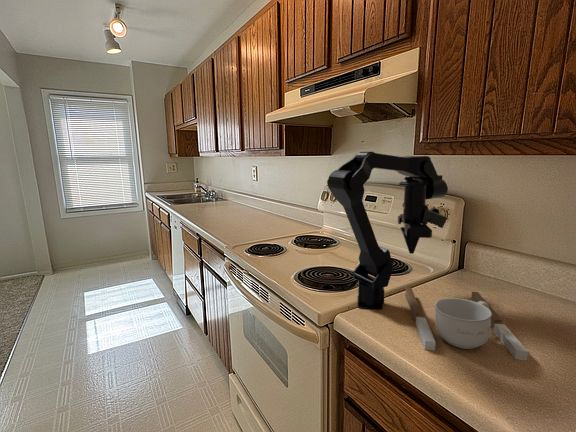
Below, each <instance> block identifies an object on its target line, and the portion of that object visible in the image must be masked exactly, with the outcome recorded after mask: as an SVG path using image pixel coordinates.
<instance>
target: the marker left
mask: <svg viewBox="0 0 576 432" xmlns="http://www.w3.org/2000/svg"><path fill="white" fill-rule="evenodd" d="M415 327H416V329H417V332H418V335H419V337H420V340H421V343H422V346H423V348H424V350H425V351H426V350H428V351H436V343H437V342H436V340H435V337H434V335H433V332H432V330H431V328H430V326H429V324H428V321H427V319H426V317H423V316H422V317H416V322H415Z"/></svg>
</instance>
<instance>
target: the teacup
mask: <svg viewBox="0 0 576 432" xmlns="http://www.w3.org/2000/svg"><path fill="white" fill-rule="evenodd" d="M486 302H487V301H486ZM486 302H484V301H479V302H474V301H471V299H465V298H457V297H447V298H441V299H438V300H437V301H436V302H435V303H434V310H435V311H434V322H435V323H434V324H435V325H434V326H435V329H436V332H437V333H438V336H440V337H441V338H442V339H443V340H444V341H445V342H446V343H448V344H449V345H451V346H453V347H456V348H459V349H464V350H470V349H471V350H472V349H477V348H478V347H481V346H483V345H485V344H486V343H487V342H488V340H489V338H490V334H491V327H492V326H491V317H492V313H491V311H490V310H489V305H490V304H489V303H488V302H487V303H488V304H489V305H488V304H487V303H486Z"/></svg>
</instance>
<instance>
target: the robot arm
mask: <svg viewBox="0 0 576 432" xmlns="http://www.w3.org/2000/svg"><path fill="white" fill-rule="evenodd" d="M374 169H378V170H386V171H393V172H394V171H395V172H397V173H398V174H399V175H402V176H405V177H404V178H403V179H402V180H401V181H400V182H399V185H398V186H404V194H403V196H404V197H403V202H402V207H403V211H402V212H403V213H401V214H399V215H398V216H397V224H398V225H402V224H403V226H401V227H400V231H401V233H402V236H403V238H404V242H405V245H406V247H407V249H408V253H409V254H410V255H411V254H412V255H413V254H415V251H416V247H417V246H418V242H419V240H420V239H423V238H427V239H431V238H432V237H433V230H432V228H431V227H429V226H428V223H429V224H432V225H435V226H437V227H438V228H441V229H443V228H444V226H445V224H446V222H447V220H448V217H447V216H446V215H444V214H441V213H440V209H438V208H436V207H431V208H430V209H429V207H428V205H427V204H426V200H433V199H440V198H441V199H442V198H444V197H445V196H446V195H447V193H448V190H449V187H448V185H447V182H446V181H445V180H444V179H443V175H440V174H438V173H437V171H436V168H435V166H434V164H433V162H432V160H431V157H430V156H429V155H407V156H396V155H392V154H391V155H390V154H384V153H378V152H374V151H360V152H357V154H355V155H354V156H353V157H352V158H351V159H350V160H348V161H346V162H345V163H343V164H342V165H340V166H339V167H338V168H337V169H335V170H334V171H332V172H331V173H330V174H329V176H328V179H327V181H326V184H327V188H328V190H329V191H330V193H331V195H332V196H333V198H335V200H337V201H338V203H339V204H340V205H341V206H342V207H343V209H344V212H345V214H346V216H347V220H348V222H349V224H350V227H351V230H352V232H353V235H354V237H355V240H356V243H357V245H358V247H359V250H360V252H359V255H358V256H359V257H358V260H359V263H358V264H357V266H356V267H355V268H354V270H353V271H352V272H351V273H352V276H353V279H354V280H356V281H358V285H357V287H358V288H357V289H358V290H357V293H358V294H357V307H358V308H361V309H370V310H371V309H372V310H373V309H374V310H383V309H384V308H383V305H384V304H385V293H386V292H385V288H387V287H388V286H389V283H390V279H391V276H392V274H393V269H394V266H393V263H394V260H393V258H392V257H391V252H390V250H389V249H387V248H384V247H382V246H379V243H378V241H377V238H376V236H375V235H376V234H375V233H374V230H373V227H372V224H371V221H370V218H369V215H368V214H367V211H366V207H365V205H364V202H363V199H364V195H365V186H364V184H365V183H366V182H367V181H368V180H369V179H370V177H371V174H372V171H373V170H374Z"/></svg>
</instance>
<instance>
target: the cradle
mask: <svg viewBox="0 0 576 432" xmlns="http://www.w3.org/2000/svg"><path fill="white" fill-rule="evenodd" d="M404 296H405V298H406V301H407V303H408V307H409V309H410V312H411V315H412V317H413V320H414V322H415V323H416V317H423V312H422V310H421V308H420V305H419V303H418V301H417V298H416V296H415V292H414V291H413V288H412V287H408V286H407V287H405V295H404ZM470 300H471V301H474V302H479V301H484V302H486V303H487V304H488V305H489V310H490V311H491V313H492V317H491V326H490V327H492V329H494V325H495V324H503V319H502V318H501V316H500V315H498V313H497V312H496V310H495V309H494V308H493V307H492V306H491V305H490V303H488V302H487V300H485V298H484V297H483V296H482V295H481V294H480V293H479V292H478V291H471V296H470Z"/></svg>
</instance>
